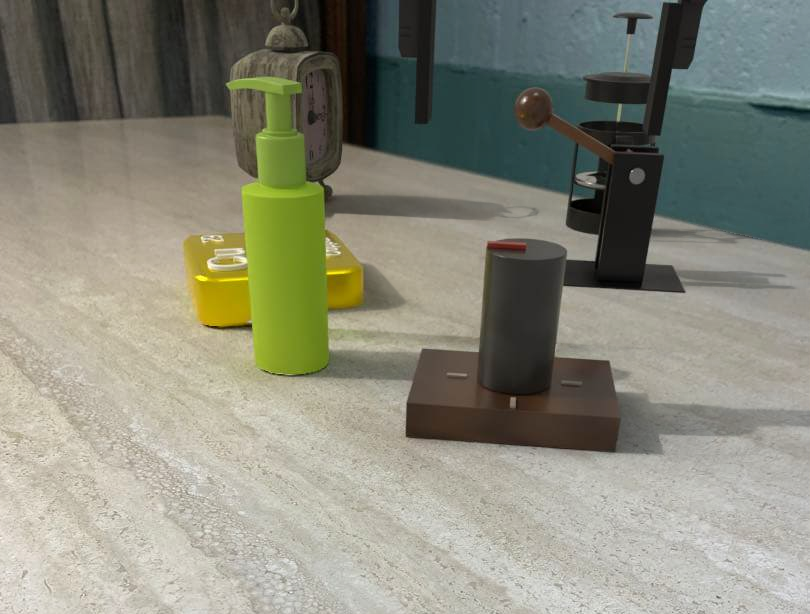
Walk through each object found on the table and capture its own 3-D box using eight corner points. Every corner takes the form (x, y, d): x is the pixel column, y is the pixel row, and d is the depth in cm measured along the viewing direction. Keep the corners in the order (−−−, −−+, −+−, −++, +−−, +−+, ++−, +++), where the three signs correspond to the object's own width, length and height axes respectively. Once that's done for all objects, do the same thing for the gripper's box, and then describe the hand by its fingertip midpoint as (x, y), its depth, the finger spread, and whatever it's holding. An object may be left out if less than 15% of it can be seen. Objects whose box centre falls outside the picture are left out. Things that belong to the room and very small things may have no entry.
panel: (604, 391, 66) (610, 358, 64) (615, 452, 57) (621, 415, 56) (421, 379, 67) (422, 346, 65) (405, 436, 58) (406, 400, 57)
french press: (558, 222, 109) (583, 9, 97) (633, 225, 109) (668, 11, 96) (567, 247, 100) (596, 14, 87) (650, 250, 99) (691, 16, 86)
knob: (550, 367, 63) (566, 235, 57) (552, 397, 58) (569, 257, 53) (478, 363, 63) (488, 231, 58) (474, 392, 59) (484, 252, 54)
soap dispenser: (280, 339, 73) (263, 71, 62) (344, 359, 70) (338, 79, 59) (230, 360, 69) (202, 77, 58) (295, 381, 66) (279, 86, 55)
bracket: (557, 296, 84) (574, 155, 77) (555, 270, 92) (570, 139, 85) (682, 304, 83) (711, 161, 76) (670, 276, 91) (695, 144, 84)
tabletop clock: (300, 220, 108) (289, -20, 94) (235, 213, 110) (215, -22, 96) (344, 196, 119) (340, -20, 105) (284, 191, 121) (273, -22, 108)
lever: (506, 120, 79) (527, 81, 77) (507, 115, 82) (527, 77, 80) (636, 199, 81) (660, 163, 79) (633, 191, 84) (655, 156, 82)
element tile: (368, 317, 78) (368, 264, 76) (200, 330, 74) (193, 275, 72) (332, 270, 90) (331, 222, 87) (185, 279, 86) (179, 230, 84)
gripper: (840, -350, 42) (736, 127, 54) (337, -350, 44) (342, 108, 56) (894, -406, 36) (763, 147, 48) (305, -403, 38) (318, 125, 50)
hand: (535, 127), depth 52 cm, fingers open, 13 cm apart
